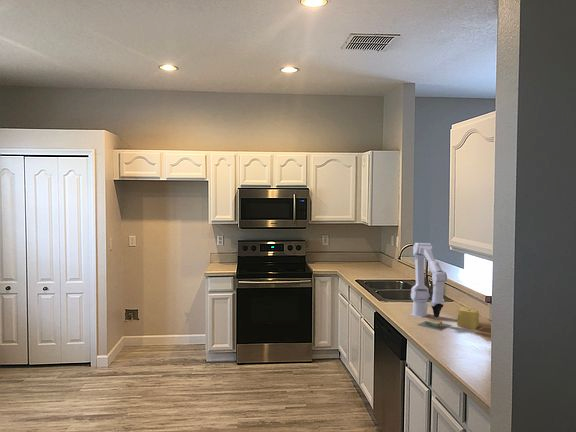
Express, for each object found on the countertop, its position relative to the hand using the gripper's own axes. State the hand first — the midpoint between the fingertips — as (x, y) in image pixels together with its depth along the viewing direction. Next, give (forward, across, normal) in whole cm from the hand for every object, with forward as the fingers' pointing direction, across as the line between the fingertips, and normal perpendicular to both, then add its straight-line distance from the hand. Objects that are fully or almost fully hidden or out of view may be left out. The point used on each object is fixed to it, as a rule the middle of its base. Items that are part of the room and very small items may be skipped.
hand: (436, 316), depth 268 cm
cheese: (+5, +13, -13) cm, 19 cm away
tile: (+3, 0, 0) cm, 3 cm away
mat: (+5, -2, 0) cm, 5 cm away
